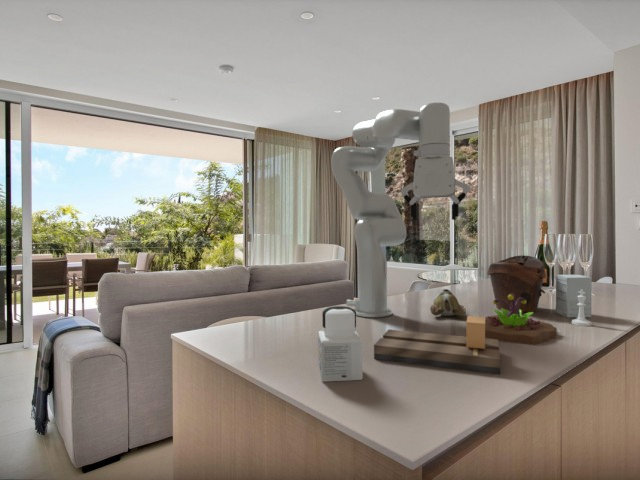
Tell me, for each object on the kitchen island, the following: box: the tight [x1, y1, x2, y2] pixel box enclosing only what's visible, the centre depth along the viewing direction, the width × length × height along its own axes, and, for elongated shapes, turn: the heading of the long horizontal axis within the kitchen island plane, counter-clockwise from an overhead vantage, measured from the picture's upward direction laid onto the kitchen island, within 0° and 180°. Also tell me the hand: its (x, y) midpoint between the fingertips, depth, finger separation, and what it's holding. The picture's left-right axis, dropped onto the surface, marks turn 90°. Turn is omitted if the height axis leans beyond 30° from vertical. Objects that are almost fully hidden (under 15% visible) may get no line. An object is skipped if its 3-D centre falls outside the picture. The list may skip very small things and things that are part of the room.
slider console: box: [373, 329, 501, 375], centre depth 88 cm, size 25×14×3 cm, turn 67°
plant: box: [485, 293, 558, 345], centre depth 106 cm, size 20×20×11 cm
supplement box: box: [555, 274, 593, 318], centre depth 126 cm, size 7×7×13 cm
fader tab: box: [465, 315, 486, 349], centre depth 85 cm, size 4×6×7 cm, turn 157°
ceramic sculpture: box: [430, 288, 467, 317], centre depth 128 cm, size 11×9×15 cm
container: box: [317, 305, 364, 383], centre depth 77 cm, size 8×8×13 cm
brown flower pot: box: [486, 255, 547, 313], centre depth 135 cm, size 18×20×18 cm
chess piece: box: [571, 289, 592, 327], centre depth 115 cm, size 5×5×10 cm
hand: (434, 220), depth 103 cm, fingers open, 9 cm apart
